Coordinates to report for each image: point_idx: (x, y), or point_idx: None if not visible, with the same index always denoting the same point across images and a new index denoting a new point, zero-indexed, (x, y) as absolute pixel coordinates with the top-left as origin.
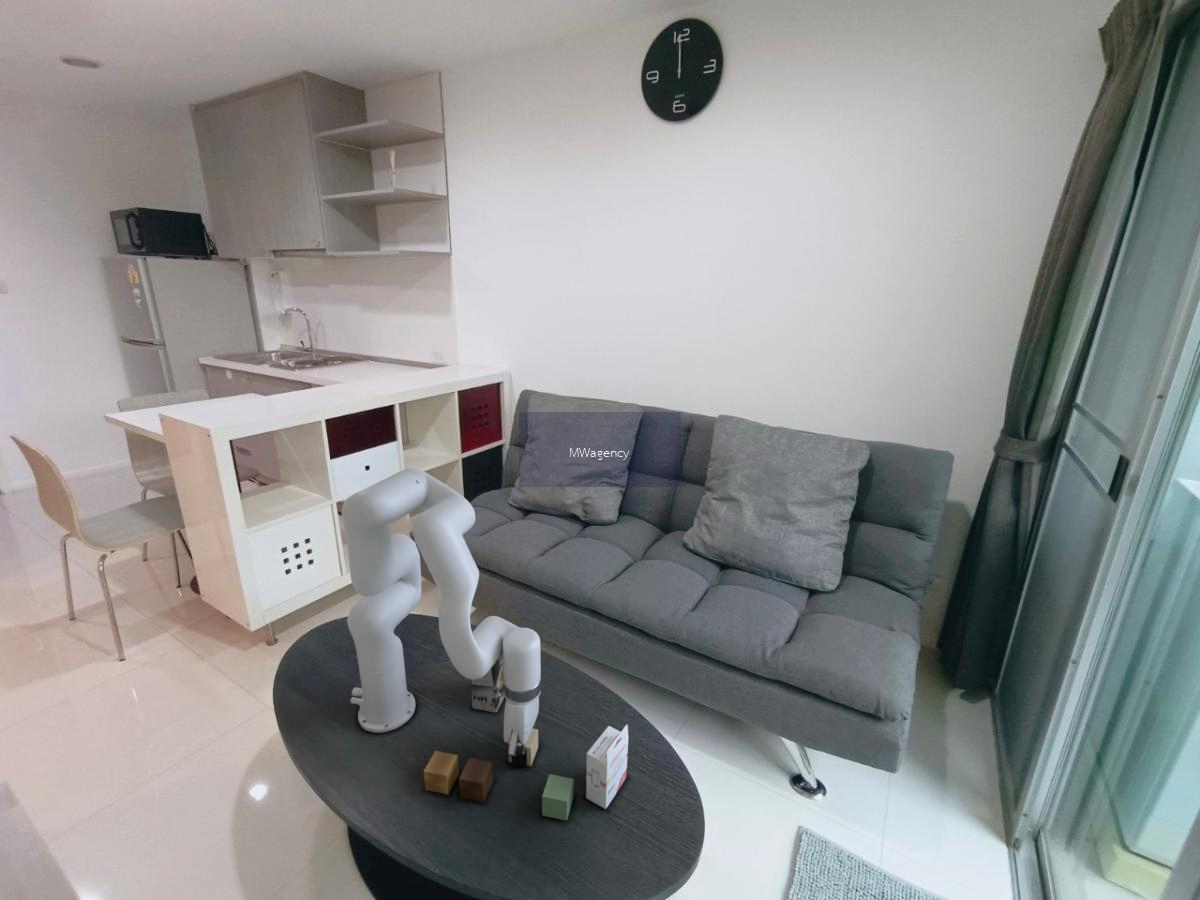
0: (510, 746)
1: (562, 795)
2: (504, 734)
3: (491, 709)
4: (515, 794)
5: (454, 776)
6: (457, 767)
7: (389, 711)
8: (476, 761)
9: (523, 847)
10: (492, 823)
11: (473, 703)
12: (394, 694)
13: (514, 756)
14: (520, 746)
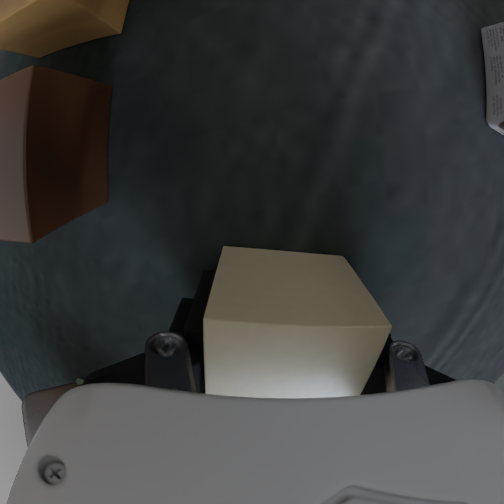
0: (28, 445)
1: None
2: (19, 473)
3: (495, 102)
4: (91, 306)
5: (64, 35)
6: (85, 19)
7: None
8: (13, 130)
9: (11, 339)
10: (5, 256)
11: (497, 27)
12: None
13: (171, 330)
14: (205, 386)
